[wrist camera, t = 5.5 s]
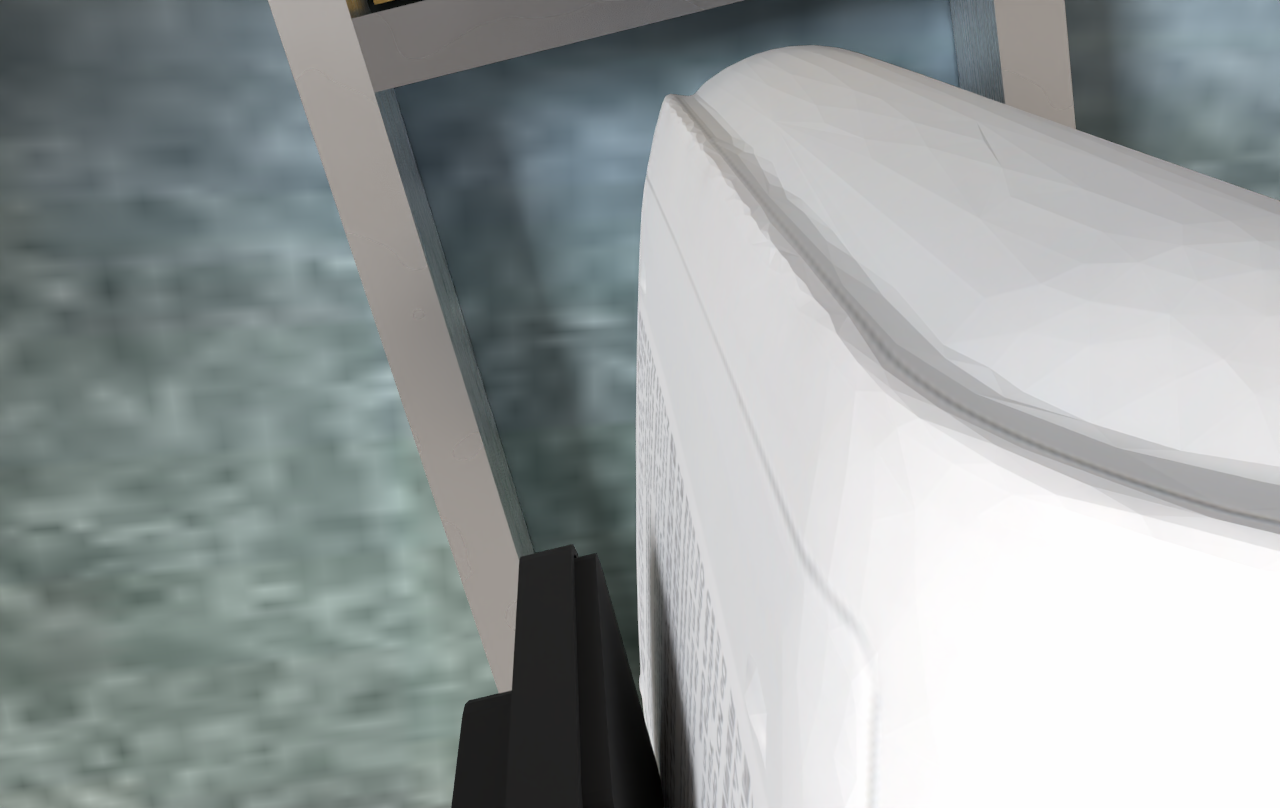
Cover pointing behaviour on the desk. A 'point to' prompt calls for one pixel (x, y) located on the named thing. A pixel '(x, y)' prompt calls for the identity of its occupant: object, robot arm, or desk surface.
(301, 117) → the desk surface
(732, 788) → the photo printer
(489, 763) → the robot arm
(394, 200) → the dock
